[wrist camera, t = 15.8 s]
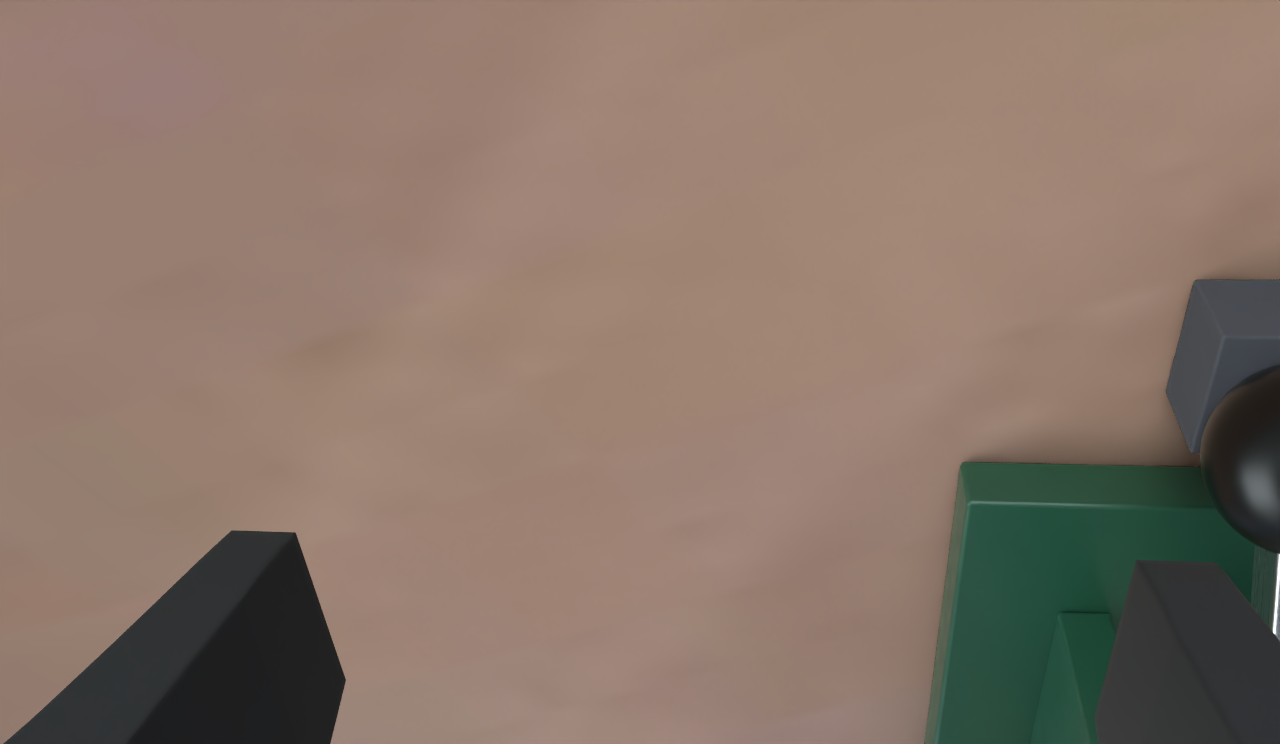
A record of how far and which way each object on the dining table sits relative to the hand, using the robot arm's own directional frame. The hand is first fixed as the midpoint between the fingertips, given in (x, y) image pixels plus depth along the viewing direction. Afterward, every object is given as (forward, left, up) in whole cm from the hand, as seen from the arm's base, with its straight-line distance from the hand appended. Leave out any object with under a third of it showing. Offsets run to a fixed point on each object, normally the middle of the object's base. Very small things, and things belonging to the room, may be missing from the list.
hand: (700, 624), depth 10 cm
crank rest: (-4, -9, -10) cm, 14 cm away
